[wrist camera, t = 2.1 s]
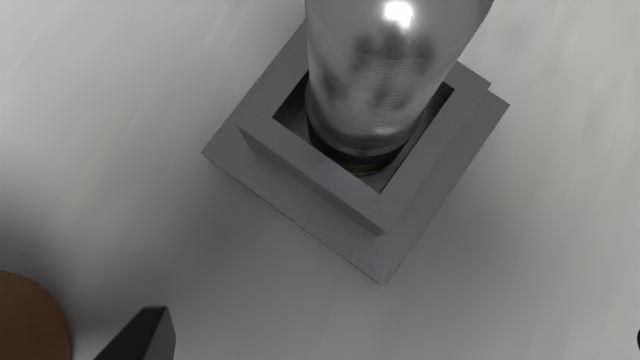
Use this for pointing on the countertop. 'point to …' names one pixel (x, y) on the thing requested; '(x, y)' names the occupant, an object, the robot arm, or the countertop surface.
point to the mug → (30, 322)
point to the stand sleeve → (337, 183)
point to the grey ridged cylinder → (379, 71)
